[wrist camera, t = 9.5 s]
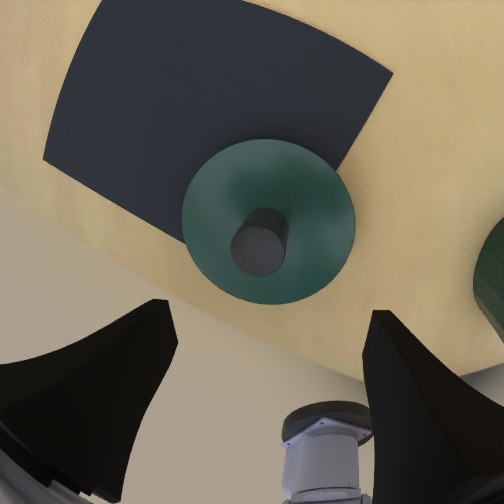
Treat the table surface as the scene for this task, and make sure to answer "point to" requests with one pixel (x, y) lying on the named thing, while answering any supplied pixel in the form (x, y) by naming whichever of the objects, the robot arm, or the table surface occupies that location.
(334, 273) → the tin lid
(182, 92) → the mat
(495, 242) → the tin
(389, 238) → the table surface
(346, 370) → the table surface
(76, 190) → the table surface
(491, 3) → the table surface
